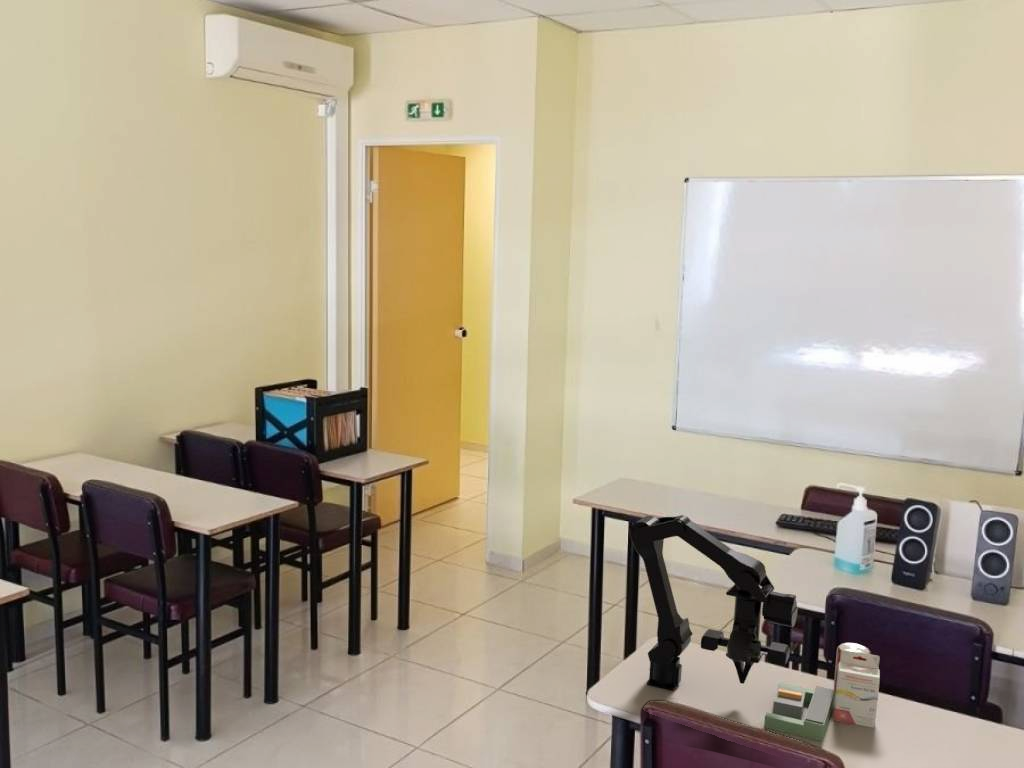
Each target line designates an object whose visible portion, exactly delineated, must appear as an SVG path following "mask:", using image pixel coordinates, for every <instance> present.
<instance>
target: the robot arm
mask: <svg viewBox="0 0 1024 768" xmlns="http://www.w3.org/2000/svg"><path fill="white" fill-rule="evenodd" d="M629 537H630V540H631V542H632V545H633V547H634V549H635V551H636V552H637V554H638V555H639V556H640V557H641V559H642V560H643V563H644V568H645V572H646V576H647V579H648V584H649V588H650V591H651V595H652V598H653V599H652V600H653V603H654V606H655V607H654V608H655V611H656V614H657V632H656V637H657V642H656V643H655V645H654V646H653V647H651V649H650V650H649V651H648V652H647V656H648V661H649V676H648V680H647V681H646V685H648V686H653V687H656V688H662V689H665V690H670V691H674V690H675V689H676V688H677V686H678V685H679V684H680V682H681V681H682V672H683V671H682V670H683V669H682V667H683V665H682V663H681V657H680V655H681V654H682V653H684V651H685V650H686V649H687V648H688V647H689V645H690V643H691V640H692V636H693V632H692V631H691V627H690V621H689V620H690V619H689V618H688V617H686V618H682V617H681V615H680V614H679V612H678V609H677V605H676V602H675V598H674V594H673V591H672V587H671V582H670V578H669V575H668V570H667V567H666V562H665V559H664V554H663V553H664V552H663V550H664V540H665V539H668V538H674V537H678V538H680V539H681V540H682V541H684V542H686V543H687V544H688V545H689V546H691V547H692V548H694V549H695V550H696V551H698V552H699V553H701V554H703V556H705V557H706V558H708V559H709V560H710V561H712V562H714V563H715V564H716V565H717V566H719V567H720V568H721V569H722V571H724V573H725V575H726V576H727V577H728V579H729V580H731V582H732V583H733V586H731V587H730V588H729V589H728V590H726V592H725V594H726V595H727V596H730V597H735V599H734V600H735V601H734V611H733V623H732V630H731V632H730V634H729V638H728V637H725V633H724V631H721V630H716V629H711V628H708V629H706V630H705V632H704V633H703V634H702V637H701V639H700V649H702V650H706V651H712V652H714V651H716V650H718V648H719V647H720V646H721V647H725V648H726V653H725V657H727V658H728V659H729V660H731V661H732V662H733V664H734V666H735V670H736V673H737V678H738V680H739V683H740V684H742V685H744V684H745V682H746V680H747V677H748V675H749V673H750V671H751V668H752V667H753V665H754V664H759V663H760V661H761V659H762V658H763V656H766V657H767V658H766V660H767V661H768V662H769V663H770V664H774V665H777V666H787V665H786V664H787V663H788V662H789V661H788V660H789V658H790V655H791V653H790V652H791V648H790V646H789V645H788V644H785V643H782V642H781V643H780V642H777V641H776V642H775V641H771V643H770V646H767V645H763V644H762V643H761V640H760V629H761V628H760V627H761V617H763V620H765V621H766V622H767V623H772V624H778V625H781V626H785V627H791V628H793V627H795V624H796V622H797V616H798V608H799V607H798V605H797V604H798V603H797V599H796V598H797V596H796V594H791V593H784V592H783V593H782V592H777V591H775V586H774V585H773V583H772V581H771V580H770V578H769V577H768V575H767V571H766V570H767V569H766V566H765V565H764V563H763V562H761V560H759V559H757V558H755V557H753V556H751V555H749V554H747V553H742V552H739V551H736V550H734V549H732V548H731V547H729V546H728V545H727V544H725V543H723V542H722V541H721V540H719V539H718V538H717V537H715V536H714V535H712V534H711V533H709V532H708V531H707V530H705V529H703V528H702V527H701V526H699V525H698V524H697V523H695V522H694V521H692V520H691V519H690V517H688V516H686V515H684V514H680V515H678V516H663V517H655V516H653V515H646V516H644V517H642V518H640V519H639V520H637V521H636V522H635V523H634V524H632V526H631V527H630V529H629Z"/></svg>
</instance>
